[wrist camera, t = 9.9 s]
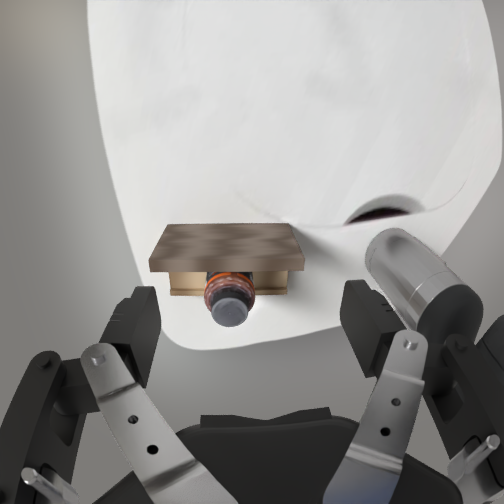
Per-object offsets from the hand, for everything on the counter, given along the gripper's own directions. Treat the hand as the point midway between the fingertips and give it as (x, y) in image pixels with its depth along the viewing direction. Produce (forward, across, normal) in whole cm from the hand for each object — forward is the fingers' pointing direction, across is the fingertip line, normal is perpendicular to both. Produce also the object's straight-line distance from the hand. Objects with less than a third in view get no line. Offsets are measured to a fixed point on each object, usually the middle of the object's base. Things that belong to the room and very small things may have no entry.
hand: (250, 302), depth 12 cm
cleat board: (+29, +2, +11) cm, 32 cm away
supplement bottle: (+27, +1, +12) cm, 30 cm away
